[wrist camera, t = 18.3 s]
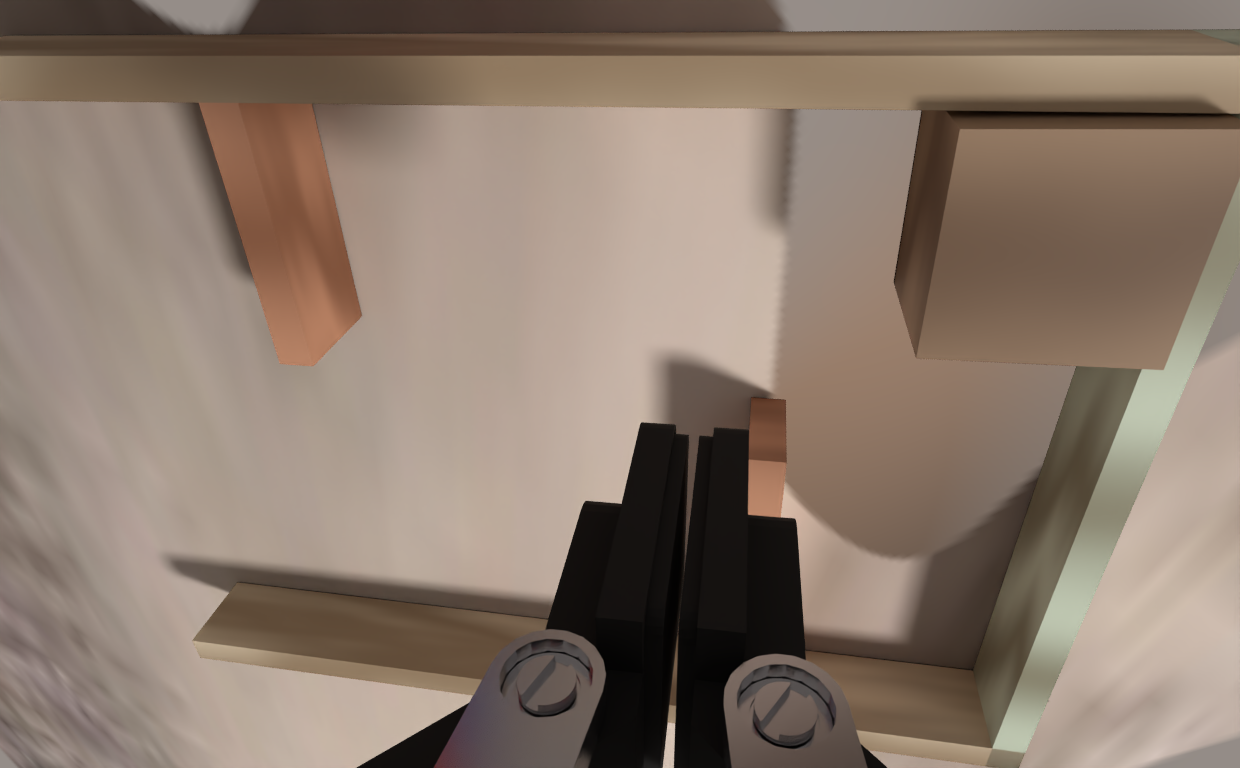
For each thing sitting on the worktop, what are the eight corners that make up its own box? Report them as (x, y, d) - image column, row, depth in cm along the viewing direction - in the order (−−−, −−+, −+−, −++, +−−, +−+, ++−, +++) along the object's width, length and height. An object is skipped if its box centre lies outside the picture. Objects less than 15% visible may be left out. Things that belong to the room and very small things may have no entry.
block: (1098, 287, 20) (1163, 370, 16) (893, 281, 20) (916, 358, 17) (1164, 81, 17) (1259, 129, 14) (925, 83, 18) (959, 129, 14)
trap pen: (996, 691, 28) (1017, 770, 25) (244, 599, 33) (200, 657, 30) (1243, 29, 16) (1329, 55, 14) (6, 35, 21) (-99, 55, 18)
